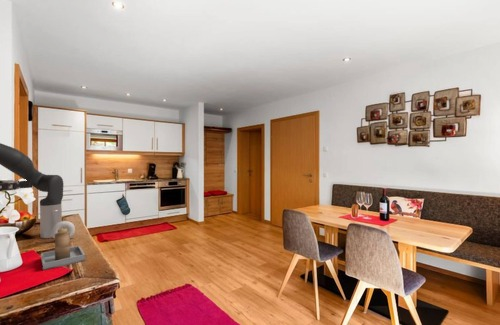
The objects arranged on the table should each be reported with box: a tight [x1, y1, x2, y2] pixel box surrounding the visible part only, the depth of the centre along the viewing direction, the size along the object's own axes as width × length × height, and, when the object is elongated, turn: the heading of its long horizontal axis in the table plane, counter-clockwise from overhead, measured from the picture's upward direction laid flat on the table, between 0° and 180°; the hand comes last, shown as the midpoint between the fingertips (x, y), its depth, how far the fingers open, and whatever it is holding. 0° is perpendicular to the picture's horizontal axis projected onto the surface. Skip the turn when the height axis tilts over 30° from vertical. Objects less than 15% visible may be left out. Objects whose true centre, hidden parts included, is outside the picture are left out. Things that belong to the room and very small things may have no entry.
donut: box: [51, 220, 76, 240], centre depth 129 cm, size 10×4×10 cm, turn 130°
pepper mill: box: [54, 228, 71, 261], centre depth 104 cm, size 5×5×12 cm
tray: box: [40, 245, 86, 271], centre depth 104 cm, size 14×13×2 cm
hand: (32, 183), depth 102 cm, fingers open, 8 cm apart
